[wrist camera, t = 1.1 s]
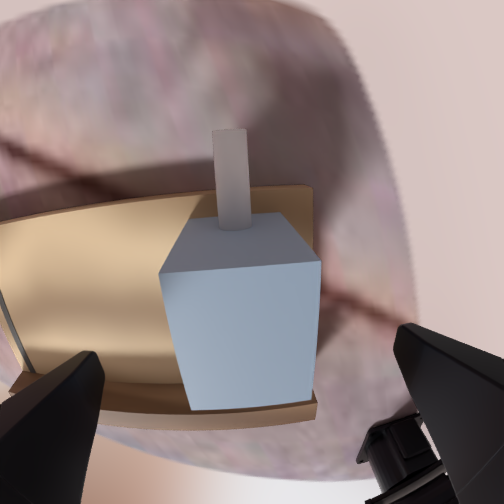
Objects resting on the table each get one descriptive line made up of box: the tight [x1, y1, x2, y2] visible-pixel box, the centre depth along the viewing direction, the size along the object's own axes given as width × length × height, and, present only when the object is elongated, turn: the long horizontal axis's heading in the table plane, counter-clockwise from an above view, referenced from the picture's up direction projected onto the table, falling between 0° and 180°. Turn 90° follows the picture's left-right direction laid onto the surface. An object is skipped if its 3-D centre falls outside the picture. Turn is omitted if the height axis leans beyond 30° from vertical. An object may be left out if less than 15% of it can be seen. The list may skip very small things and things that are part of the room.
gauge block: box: [158, 129, 321, 410], centre depth 10 cm, size 8×4×6 cm, turn 3°
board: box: [0, 184, 317, 431], centre depth 13 cm, size 12×20×4 cm, turn 93°
